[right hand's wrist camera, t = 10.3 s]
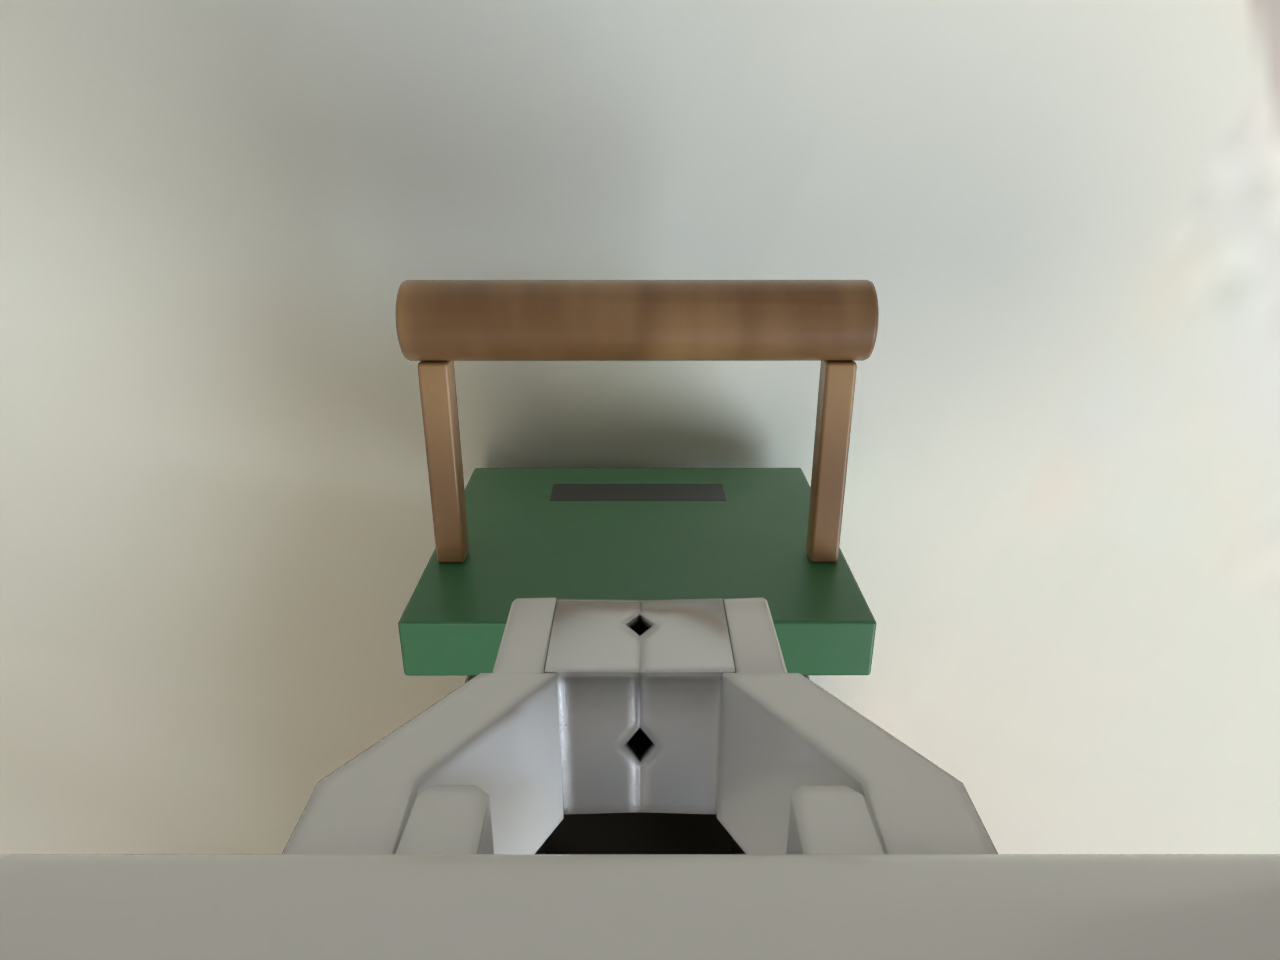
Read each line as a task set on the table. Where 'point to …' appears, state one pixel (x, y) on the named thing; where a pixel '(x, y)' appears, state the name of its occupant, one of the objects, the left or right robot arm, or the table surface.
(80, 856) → the right robot arm
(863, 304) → the drawer
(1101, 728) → the table surface
